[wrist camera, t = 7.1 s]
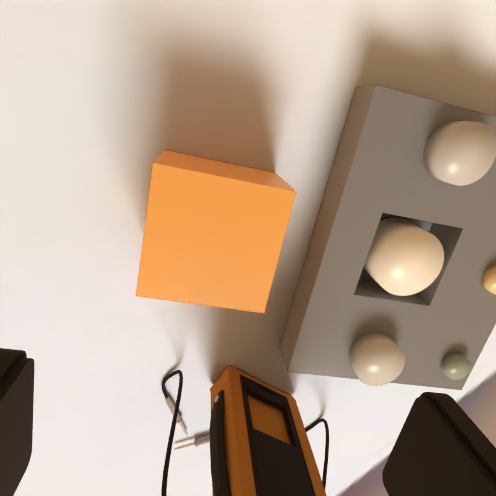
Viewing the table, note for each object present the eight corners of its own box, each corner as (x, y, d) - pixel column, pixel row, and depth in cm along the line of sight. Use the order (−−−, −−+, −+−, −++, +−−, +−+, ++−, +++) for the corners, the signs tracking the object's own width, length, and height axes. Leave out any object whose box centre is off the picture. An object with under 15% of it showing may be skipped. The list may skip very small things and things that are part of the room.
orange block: (164, 149, 23) (153, 163, 18) (275, 172, 25) (296, 191, 19) (150, 255, 26) (135, 296, 20) (251, 271, 27) (264, 313, 21)
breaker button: (370, 212, 26) (390, 224, 23) (429, 223, 27) (455, 237, 24) (349, 272, 28) (366, 290, 25) (406, 281, 29) (428, 300, 26)
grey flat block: (355, 87, 23) (389, 83, 19) (547, 138, 26) (613, 144, 22) (279, 347, 30) (292, 386, 26) (439, 365, 33) (474, 403, 28)
